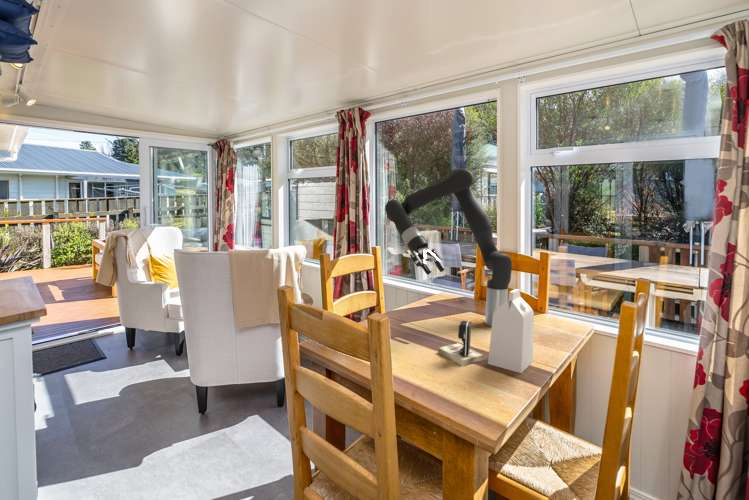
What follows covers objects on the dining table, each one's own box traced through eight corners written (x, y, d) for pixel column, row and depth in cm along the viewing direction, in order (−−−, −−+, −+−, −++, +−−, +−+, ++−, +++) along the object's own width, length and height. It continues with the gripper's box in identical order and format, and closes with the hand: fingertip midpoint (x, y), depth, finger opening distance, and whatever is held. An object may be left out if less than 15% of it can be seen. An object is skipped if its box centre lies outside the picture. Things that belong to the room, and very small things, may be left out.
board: (458, 348, 150) (458, 342, 150) (483, 360, 139) (483, 354, 138) (438, 352, 145) (438, 347, 145) (462, 365, 134) (462, 360, 134)
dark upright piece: (459, 348, 144) (460, 318, 142) (470, 350, 143) (471, 319, 141) (456, 355, 137) (458, 324, 136) (467, 357, 136) (469, 325, 135)
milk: (501, 353, 145) (504, 285, 142) (532, 361, 138) (537, 290, 135) (487, 363, 136) (491, 291, 133) (521, 373, 129) (525, 296, 125)
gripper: (408, 235, 151) (430, 268, 145) (430, 233, 161) (452, 264, 155) (397, 247, 156) (419, 280, 149) (420, 245, 166) (441, 275, 159)
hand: (436, 272), depth 152 cm, fingers open, 8 cm apart
